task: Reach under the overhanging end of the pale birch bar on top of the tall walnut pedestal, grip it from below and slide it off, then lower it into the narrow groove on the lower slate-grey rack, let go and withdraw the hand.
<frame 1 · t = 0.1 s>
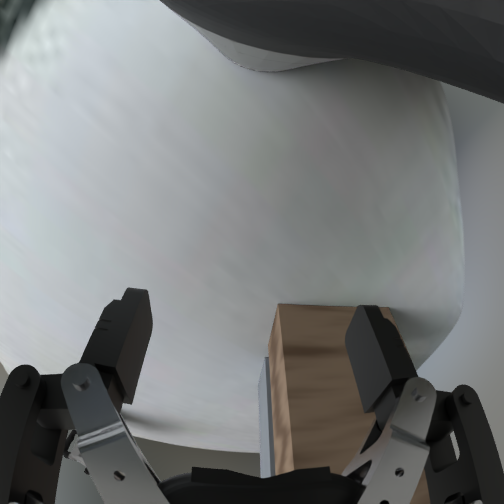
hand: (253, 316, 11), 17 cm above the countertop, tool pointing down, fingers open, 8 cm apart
slate grooved rack: (308, 372, 43), on the countertop
walnut pedestal: (328, 327, 37), on the countertop
coffeepot: (99, 407, 55), on the countertop
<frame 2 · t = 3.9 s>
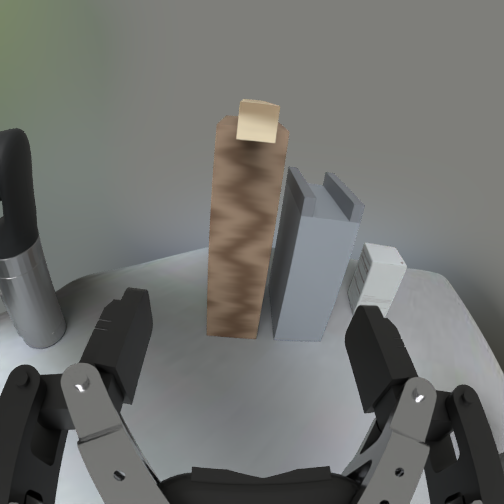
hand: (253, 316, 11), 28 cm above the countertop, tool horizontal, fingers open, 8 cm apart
supplement box: (364, 306, 57), on the countertop
slate grooved rack: (292, 311, 53), on the countertop
walnut pedestal: (232, 307, 53), on the countertop
birch bar: (253, 125, 32), point 32 cm above the countertop, touching walnut pedestal
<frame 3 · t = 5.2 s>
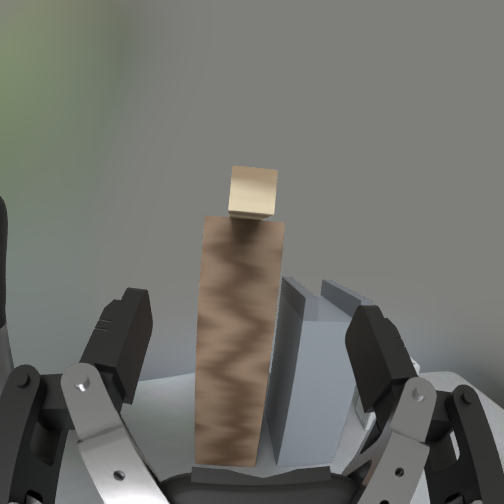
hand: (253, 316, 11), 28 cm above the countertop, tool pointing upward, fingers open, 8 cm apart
supplement box: (376, 419, 43), on the countertop
slate grooved rack: (295, 434, 39), on the countertop
walnut pedestal: (225, 434, 38), on the countertop
birch bar: (244, 219, 31), point 32 cm above the countertop, touching walnut pedestal
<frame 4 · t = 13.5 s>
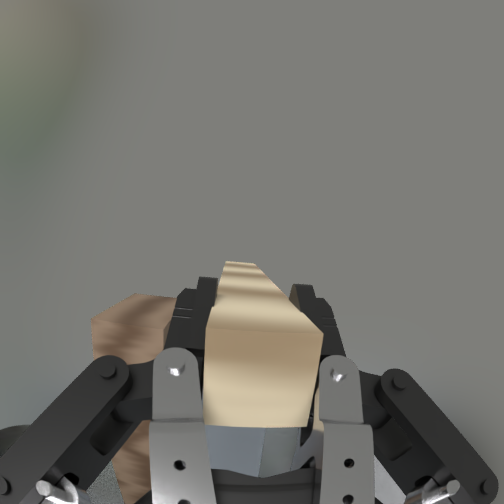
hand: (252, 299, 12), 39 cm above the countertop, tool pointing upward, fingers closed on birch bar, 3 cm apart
slate grooved rack: (223, 490, 36), on the countertop
walnut pedestal: (158, 483, 35), on the countertop
birch bar: (241, 320, 19), point 36 cm above the countertop, touching gripper
when the fingers open (26 cm above the countertop, at t = 18.3 s): birch bar drops 1 cm, resting on slate grooved rack.
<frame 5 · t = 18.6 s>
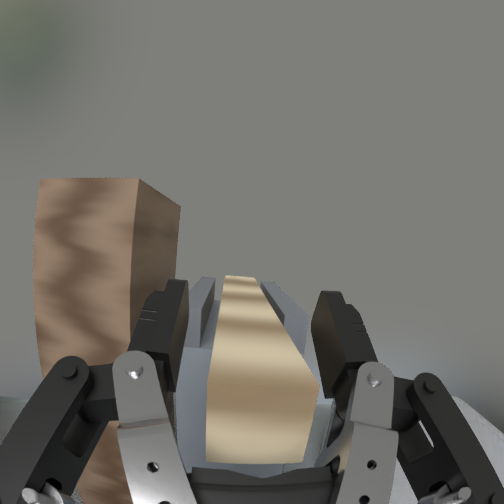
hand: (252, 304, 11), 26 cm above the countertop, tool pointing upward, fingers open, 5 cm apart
slate grooved rack: (225, 488, 25), on the countertop
walnut pedestal: (134, 476, 25), on the countertop
birch bar: (241, 341, 19), point 22 cm above the countertop, touching slate grooved rack
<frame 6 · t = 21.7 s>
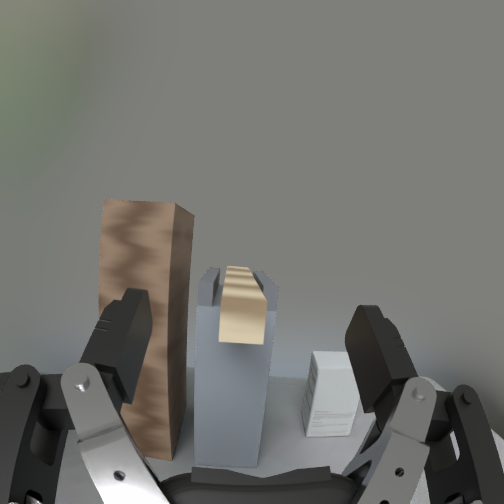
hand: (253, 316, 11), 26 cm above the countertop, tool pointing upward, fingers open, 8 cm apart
supplement box: (323, 426, 41), on the countertop
slate grooved rack: (226, 434, 37), on the countertop
walnut pedestal: (154, 426, 37), on the countertop
birch bar: (237, 304, 31), point 22 cm above the countertop, touching slate grooved rack
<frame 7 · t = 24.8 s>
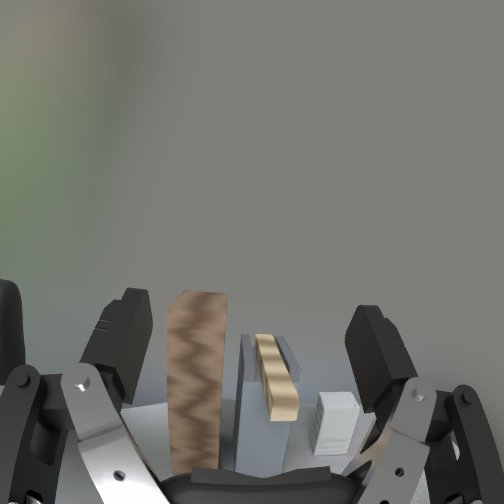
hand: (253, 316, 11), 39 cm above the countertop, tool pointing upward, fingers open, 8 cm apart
supplement box: (327, 446, 51), on the countertop
slate grooved rack: (254, 456, 47), on the countertop
walnut pedestal: (198, 453, 46), on the countertop
birch bar: (270, 377, 41), point 22 cm above the countertop, touching slate grooved rack
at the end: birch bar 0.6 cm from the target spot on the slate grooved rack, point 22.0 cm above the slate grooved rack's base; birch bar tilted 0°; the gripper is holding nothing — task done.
